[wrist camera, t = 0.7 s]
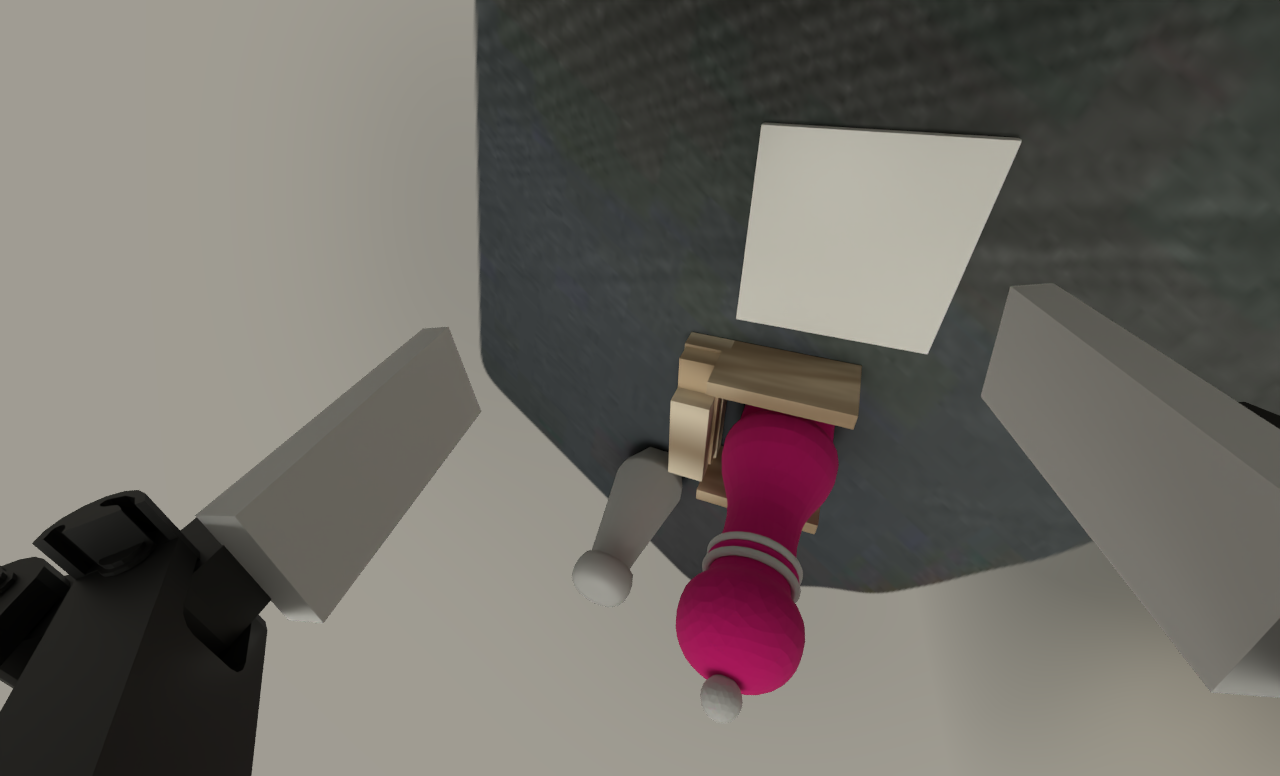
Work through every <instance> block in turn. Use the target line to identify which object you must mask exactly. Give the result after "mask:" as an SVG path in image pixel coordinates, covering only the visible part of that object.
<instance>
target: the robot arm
mask: <svg viewBox="0 0 1280 776" xmlns="http://www.w3.org/2000/svg"><path fill="white" fill-rule="evenodd" d="M981 397H982V399H983V400H984V401H985V402H986V404H987V405H988V406H989V408H990V409H991V410H992V411H993V413H994V414H995V415H996V417H997V418H998V419H999V420H1000V422H1001V423H1002V424H1003V426H1004V427H1005V428H1006V429H1007V431H1008V432H1009V433H1010V435H1011V436H1012V437H1013V438H1014V440H1015V441H1016V442H1017V444H1018V445H1019V446H1020V447H1021V449H1022V450H1023V451H1024V453H1025V454H1026V455H1027V456H1028V458H1029V459H1030V460H1031V462H1032V463H1033V464H1034V465H1035V467H1036V468H1037V469H1038V471H1039V472H1040V473H1041V474H1042V476H1043V477H1044V478H1045V480H1046V481H1047V482H1048V483H1049V485H1050V486H1051V487H1052V489H1053V490H1054V491H1055V492H1056V494H1057V495H1058V496H1059V498H1060V499H1061V500H1062V501H1063V503H1064V504H1065V505H1066V507H1067V508H1068V509H1069V510H1070V512H1071V513H1072V514H1073V516H1074V517H1075V518H1076V519H1077V521H1078V522H1079V523H1080V525H1081V526H1082V527H1083V528H1084V530H1085V531H1086V532H1087V534H1088V535H1089V536H1090V537H1091V539H1092V540H1093V541H1094V543H1095V544H1096V545H1097V546H1098V548H1099V549H1100V550H1101V552H1102V553H1103V554H1104V555H1105V557H1106V558H1107V559H1108V561H1109V562H1110V563H1111V564H1112V566H1113V567H1114V568H1115V569H1116V571H1117V572H1118V573H1119V575H1120V576H1121V577H1122V579H1123V580H1124V581H1125V582H1126V584H1127V585H1128V586H1129V588H1130V589H1131V590H1132V591H1133V593H1134V594H1135V595H1136V596H1137V598H1138V599H1139V600H1140V602H1141V603H1142V604H1143V606H1144V607H1145V608H1146V609H1147V610H1148V612H1149V613H1150V614H1151V616H1152V617H1153V618H1154V620H1155V621H1156V622H1157V624H1158V625H1159V626H1160V627H1161V629H1162V630H1163V631H1164V633H1165V634H1166V635H1167V636H1168V638H1169V639H1170V640H1171V642H1172V643H1173V644H1174V645H1175V647H1176V648H1177V649H1178V651H1179V652H1180V653H1181V654H1182V656H1183V657H1184V658H1185V660H1186V661H1187V662H1188V663H1189V665H1190V666H1191V667H1192V669H1193V670H1194V671H1195V672H1196V674H1197V675H1198V676H1199V678H1200V679H1201V680H1202V681H1203V683H1204V684H1205V685H1206V687H1207V688H1208V689H1209V690H1210V692H1213V693H1225V694H1239V695H1251V696H1263V697H1277V698H1280V416H1279V415H1276V414H1274V413H1271V412H1269V411H1266V410H1264V409H1261V408H1259V407H1256V406H1254V405H1251V404H1249V403H1246V402H1237V401H1235V400H1234V399H1232V398H1230V397H1229V396H1227V395H1226V394H1224V393H1223V392H1221V391H1220V390H1218V389H1216V388H1215V387H1213V386H1212V385H1210V384H1209V383H1207V382H1206V381H1204V380H1203V379H1201V378H1199V377H1198V376H1196V375H1195V374H1193V373H1192V372H1190V371H1189V370H1187V369H1185V368H1184V367H1182V366H1181V365H1179V364H1178V363H1176V362H1175V361H1173V360H1172V359H1170V358H1168V357H1167V356H1165V355H1164V354H1162V353H1161V352H1159V351H1158V350H1156V349H1154V348H1153V347H1151V346H1150V345H1148V344H1147V343H1145V342H1144V341H1142V340H1141V339H1139V338H1137V337H1136V336H1134V335H1133V334H1131V333H1130V332H1128V331H1127V330H1125V329H1123V328H1122V327H1120V326H1119V325H1117V324H1116V323H1114V322H1113V321H1111V320H1109V319H1108V318H1106V317H1105V316H1103V315H1102V314H1100V313H1099V312H1097V311H1096V310H1094V309H1092V308H1091V307H1089V306H1088V305H1086V304H1085V303H1083V302H1082V301H1080V300H1078V299H1077V298H1075V297H1074V296H1072V295H1071V294H1069V293H1068V292H1066V291H1065V290H1063V289H1061V288H1060V287H1058V286H1057V285H1055V284H1054V283H1047V284H1033V285H1019V286H1010V289H1009V293H1008V297H1007V301H1006V304H1005V308H1004V312H1003V316H1002V319H1001V323H1000V327H999V330H998V334H997V338H996V342H995V345H994V349H993V353H992V356H991V360H990V364H989V368H988V371H987V375H986V379H985V382H984V386H983V390H982V394H981ZM480 412H481V410H480V407H479V404H478V402H477V399H476V397H475V394H474V392H473V389H472V386H471V384H470V381H469V379H468V376H467V373H466V371H465V368H464V366H463V363H462V361H461V358H460V355H459V353H458V351H457V348H456V345H455V343H454V340H453V338H452V335H451V332H450V330H449V327H441V328H427V329H422V330H421V331H420V332H418V333H417V334H416V335H415V336H414V337H412V338H411V339H410V340H409V341H408V342H406V343H405V344H404V345H403V346H401V347H400V348H399V349H398V350H397V351H395V352H394V353H393V354H392V355H391V356H389V357H388V358H387V359H386V360H384V361H383V362H382V363H381V364H379V365H378V366H377V367H376V368H375V369H373V370H372V371H371V372H370V373H369V374H367V375H366V376H365V377H364V378H362V379H361V380H360V381H359V382H357V383H356V384H355V385H354V386H353V387H352V388H350V389H349V390H348V391H347V392H345V393H344V394H343V395H342V396H340V397H339V398H338V399H337V400H336V401H334V402H333V403H332V404H331V405H329V406H328V407H327V408H326V409H325V410H323V411H322V412H321V413H320V414H319V415H317V416H316V417H315V418H314V419H312V420H311V421H310V422H309V423H307V424H306V425H305V426H304V427H303V428H301V429H300V430H299V431H298V432H296V433H295V434H294V435H293V436H292V437H290V438H289V439H288V440H287V441H286V442H284V443H283V444H282V445H281V446H279V448H277V449H276V450H275V451H273V452H272V453H271V454H270V455H269V456H267V457H266V458H265V459H264V460H262V461H261V462H260V463H259V464H258V465H256V466H255V467H254V468H253V469H251V470H250V471H249V472H248V473H246V474H245V475H244V476H243V477H242V478H240V479H239V480H238V481H237V482H236V483H234V484H233V485H232V486H231V487H230V488H228V489H227V490H226V491H225V492H223V493H222V494H221V495H220V496H218V497H217V498H216V499H215V500H214V501H212V502H211V503H210V504H209V505H208V506H206V507H205V508H204V509H203V510H201V511H200V512H199V513H198V514H196V515H195V516H196V517H197V518H195V519H194V520H193V521H192V522H191V523H189V524H188V525H187V526H186V527H184V528H183V529H182V530H181V531H180V530H179V529H178V528H177V527H176V526H175V525H174V524H173V523H172V522H171V521H170V519H169V518H167V517H166V515H165V514H164V513H163V512H162V511H161V510H160V509H159V508H158V507H157V506H156V504H155V503H153V501H152V500H151V499H150V498H149V497H148V496H147V495H146V494H145V493H143V492H141V491H139V490H134V491H124V492H120V493H117V494H113V495H110V496H106V497H104V498H101V499H99V500H97V501H95V502H92V503H90V504H88V505H85V506H83V507H81V508H80V509H78V510H76V511H74V512H72V513H71V514H69V515H67V516H65V517H63V518H62V519H60V520H59V521H58V522H56V523H55V524H53V525H52V526H51V527H49V528H48V529H46V530H45V531H44V532H43V533H42V534H41V535H40V536H39V537H38V538H37V539H36V540H35V541H34V542H33V545H35V546H36V547H37V548H38V549H39V550H41V551H42V552H43V553H44V554H45V555H46V556H48V557H49V558H50V559H51V560H53V561H54V562H55V563H56V564H57V565H58V566H60V567H61V568H62V569H63V570H64V571H66V572H67V573H68V574H69V575H66V576H63V575H62V574H61V573H60V572H59V571H57V570H56V569H55V568H54V567H53V566H51V565H50V564H49V563H48V562H46V561H45V560H44V559H42V558H37V557H31V558H26V559H20V560H17V561H15V562H12V563H9V564H6V565H4V566H0V680H1V681H2V682H4V683H6V684H7V685H9V686H10V687H12V688H13V690H12V692H11V694H10V696H9V697H8V699H7V701H6V703H5V704H4V706H3V708H2V710H1V711H0V776H251V773H252V764H253V755H254V746H255V737H256V728H257V719H258V709H259V701H260V691H261V682H262V673H263V664H264V655H265V645H266V636H267V627H266V622H265V621H264V620H263V619H262V618H261V617H260V616H259V615H258V614H259V613H260V612H261V611H262V610H263V609H264V607H265V606H266V605H267V604H268V603H269V602H270V601H272V602H273V603H274V604H275V605H276V607H277V608H278V609H279V610H280V611H281V612H282V613H283V614H284V616H285V617H286V618H287V619H288V620H290V621H303V622H316V623H324V622H325V620H326V619H327V618H328V616H329V615H330V614H331V612H332V611H333V610H334V608H335V607H336V605H337V604H338V603H339V602H340V600H341V599H342V597H343V596H344V595H345V594H346V592H347V591H348V589H349V588H350V587H351V585H352V584H353V583H354V581H355V580H356V579H357V577H358V576H359V575H360V573H361V572H362V571H363V569H364V568H365V567H366V565H367V564H368V563H369V561H370V560H371V558H372V557H373V556H374V555H375V553H376V552H377V551H378V549H379V548H380V547H381V545H382V544H383V542H384V541H385V540H386V539H387V537H388V536H389V535H390V533H391V532H392V530H393V529H394V528H395V526H396V525H397V524H398V522H399V521H400V520H401V518H402V517H403V515H404V514H405V513H406V512H407V510H408V509H409V508H410V506H411V505H412V504H413V502H414V501H415V499H416V498H417V497H418V496H419V494H420V493H421V491H422V490H423V489H424V488H425V486H426V485H427V484H428V482H429V481H430V480H431V478H432V477H433V476H434V474H435V473H436V471H437V470H438V469H439V467H440V466H441V465H442V463H443V462H444V461H445V459H446V458H447V457H448V455H449V454H450V453H451V451H452V450H453V449H454V447H455V446H456V445H457V443H458V442H459V441H460V439H461V438H462V437H463V435H464V434H465V433H466V431H467V430H468V429H469V427H470V426H471V424H472V423H473V422H474V421H475V419H476V418H477V417H478V415H479V414H480Z"/></svg>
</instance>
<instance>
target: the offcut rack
mask: <svg viewBox="0 0 1280 776" xmlns="http://www.w3.org/2000/svg"><path fill="white" fill-rule="evenodd" d="M861 370H862V366H860V365H855V364H850V363H845V362H840V361H835V360H830V359H825V358H820V357H815V356H810V355H805V354H800V353H795V352H790V351H785V350H780V349H775V348H770V347H765V346H760V345H755V344H750V343H745V342H740V341H735V340H730V339H725V338H720V337H715V336H710V335H705V334H700V333H694V332H692V333H691V334H690V336H689V338H688V339H687V341H686V343H685V350H684V351H683V353H682V355H681V356H680V358H679V378H678V388H677V390H676V392H675V394H674V396H673V397H672V399H671V409H670V436H669V463H668V472H670V473H674V474H677V475H680V476H684V477H687V478H691V479H694V480H697V481H700V483H699V485H698V488H697V493H696V498H697V499H700V500H703V501H707V502H710V503H713V504H716V505H720V506H723V507H726V508H727V497H726V492H725V487H724V482H723V476H722V451H723V447H724V446H721V440H722V433H723V425H724V418H725V410H726V403H727V400H730V401H735V402H739V403H743V404H747V405H752V406H756V407H760V408H764V409H768V410H773V411H777V412H781V413H785V414H790V415H794V416H798V417H802V418H806V419H811V420H815V421H819V422H823V423H827V424H832V425H836V426H840V427H844V428H849V429H854V426H855V423H856V421H857V418H858V411H859V397H860V383H861ZM819 513H820V507H819V508H818V509H817V510H816V511H815V512H814V513H813V514H812V515H811V517H810V518H809V519H808V520H807V522H806V523H805V525H804V527H803V529H802V531H805V532H808V533H811V534H815V532H816V529H817V526H818V520H819Z"/></svg>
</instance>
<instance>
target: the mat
mask: <svg viewBox="0 0 1280 776" xmlns="http://www.w3.org/2000/svg"><path fill="white" fill-rule="evenodd" d="M1021 142H1022V140H1021V139H1020V138H1012V137H996V136H980V135H963V134H947V133H930V132H914V131H897V130H881V129H865V128H848V127H832V126H815V125H799V124H782V123H766V122H764V123H763V124H762V125H761V133H760V140H759V148H758V156H757V163H756V171H755V179H754V186H753V194H752V202H751V209H750V217H749V224H748V232H747V240H746V247H745V255H744V263H743V270H742V278H741V285H740V293H739V301H738V308H737V316H736V319H739V320H745V321H750V322H755V323H761V324H766V325H772V326H777V327H782V328H788V329H793V330H799V331H804V332H809V333H815V334H820V335H826V336H831V337H836V338H842V339H847V340H853V341H858V342H863V343H869V344H874V345H880V346H885V347H890V348H896V349H901V350H907V351H912V352H917V353H923V354H928V352H929V350H930V347H931V345H932V343H933V341H934V338H935V336H936V334H937V332H938V329H939V327H940V325H941V323H942V320H943V318H944V316H945V314H946V311H947V309H948V307H949V305H950V302H951V300H952V298H953V296H954V293H955V291H956V289H957V287H958V284H959V282H960V280H961V277H962V275H963V273H964V271H965V268H966V266H967V264H968V262H969V259H970V257H971V255H972V253H973V250H974V248H975V246H976V244H977V241H978V239H979V237H980V235H981V232H982V230H983V228H984V226H985V223H986V221H987V219H988V217H989V214H990V212H991V210H992V207H993V205H994V203H995V201H996V198H997V196H998V194H999V192H1000V189H1001V187H1002V185H1003V183H1004V180H1005V178H1006V176H1007V174H1008V171H1009V169H1010V167H1011V165H1012V162H1013V160H1014V158H1015V156H1016V153H1017V151H1018V149H1019V146H1020V144H1021Z"/></svg>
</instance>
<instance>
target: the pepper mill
mask: <svg viewBox="0 0 1280 776" xmlns="http://www.w3.org/2000/svg"><path fill="white" fill-rule="evenodd" d="M834 428H835V425H832V424H827V423H823V422H819V421H815V420H811V419H806V418H802V417H798V416H794V415H790V414H785V413H781V412H777V411H773V410H768V409H764V408H760V407H756V406H752V405H747V404H745V407H744V410H743V413H742V416H741V419H740V420H739V421H738V422H737V423H736V424H734V425H733V427H732V428H731V429H730V431H729V432H728V434H727V436H726V439H725V443H724V447H723V451H722V476H723V482H724V487H725V492H726V497H727V518H726V522H725V527H724V530H723V532H722V534H720V535H718V536H716V537H715V538H713V539H712V540H711V541H710V543H709V545H708V548H707V555H706V556H705V558H704V560H703V563H702V568H703V572H701V573H700V574H698V575H697V576H696V577H694V578H693V579H692V580H691V581H690V582H689V583H688V584H687V585H686V587H685V589H684V591H683V593H682V595H681V598H680V601H679V604H678V608H677V616H676V632H677V637H678V641H679V645H680V647H681V649H682V651H683V654H684V656H685V658H686V659H687V660H688V661H689V663H690V664H691V666H692V667H693V668H694V669H695V670H696V671H697V672H698V673H699V674H700V675H702V676H703V677H704V678H705V679H707V680H706V682H705V683H704V684H703V686H702V689H701V694H700V696H701V705H702V707H703V710H704V712H705V713H706V715H707V716H708V717H709V718H711V719H712V720H713V721H715V722H718V723H729V722H731V721H733V720H734V719H735V718H736V717H737V716H738V715H739V713H740V711H741V707H742V694H744V695H759V694H764V693H768V692H772V691H774V690H776V689H777V688H779V687H781V686H783V685H784V684H785V683H786V682H787V681H788V680H789V679H790V678H791V677H792V676H793V674H794V673H795V671H796V669H797V667H798V665H799V663H800V660H801V657H802V654H803V648H804V643H805V629H804V623H803V619H802V617H801V614H800V612H799V610H798V608H797V606H796V604H795V603H796V602H797V601H798V599H799V597H800V592H801V591H800V584H801V582H802V578H803V571H802V568H801V565H800V563H799V561H798V560H797V559H796V552H797V545H798V542H799V538H800V534H801V531H802V529H803V527H804V525H805V523H806V522H807V520H808V519H809V518H810V517H811V515H812V514H813V513H814V512H815V511H816V510H817V509H818V508H819V507H820V506H821V505H822V504H823V503H824V502H825V500H826V498H827V497H828V495H829V493H830V492H831V490H832V488H833V486H834V483H835V479H836V475H837V471H838V455H837V450H836V448H835V446H834V444H833V436H834Z"/></svg>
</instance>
